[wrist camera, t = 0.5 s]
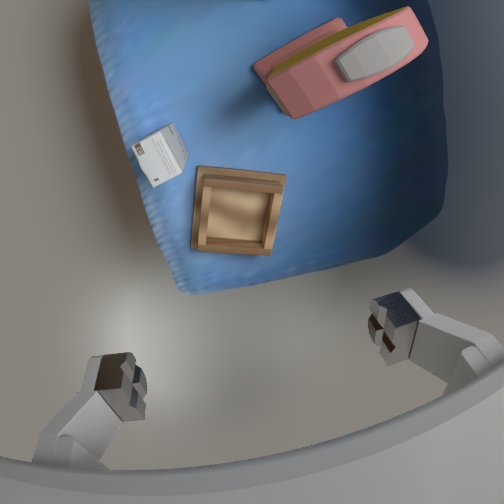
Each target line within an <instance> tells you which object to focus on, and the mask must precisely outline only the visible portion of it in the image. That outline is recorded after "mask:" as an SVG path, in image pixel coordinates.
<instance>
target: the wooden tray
mask: <svg viewBox="0 0 504 504" xmlns="http://www.w3.org/2000/svg"><path fill="white" fill-rule="evenodd" d="M285 182H286V175H284V174H276V173H268V172H260V171H251V170H242V169H233V168H222V167H212V166H200V165H198V172H197V182H196V192H195V202H194V214H193V226H192V238H191V248H197V251H202V252H217V253H233V254H248V255H264V256H270V254H271V253H272V248H273V243H274V238H275V233H276V228H277V223H278V218H279V213H280V207H281V202H282V197H283V192H284V187H285Z"/></svg>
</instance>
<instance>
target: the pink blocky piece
mask: <svg viewBox="0 0 504 504" xmlns="http://www.w3.org/2000/svg"><path fill="white" fill-rule="evenodd" d="M427 44H428V39H427V37H426V35H425V33H424V31H423V29H422V27H421V25H420V24H419V22H418V20H417V18H416V16H415V15H414V13H413V11H412V9H411V8H410V7H404V8H401V9H398V10H394V11H391V12H388V13H386V14H383V15H380V16H377V17H374V18H371V19H369V20H366V21H363V22H361V23H358V24H356V25H353V26H350V27H348V28H347V26H346V25H345V23H344V22H343V20H342V19H341V18H336V19H334V20H332V21H330V22H328V23H326V24H324V25H322V26H320V27H318V28H316V29H314V30H312V31H310V32H308V33H306V34H304V35H302V36H301V37H299V38H297V39H295V40H293V41H292V42H290V43H288V44H286V45H284V46H283V47H281V48H279V49H277V50H276V51H274V52H272V53H271V54H269V55H267V56H266V57H264V58H262V59H261V60H259V61H258V62H256V63H254V65H253V69H254V70H255V71H256V73H257V74H258V75H259V77H260V78H261V79H262V81H263V82H264V84H265V85H266V89H267V90H268V92H269V93H270V94H271V96H272V97H273V99H274V100H275V102H276V103H277V104H278V106H279V107H280V109H281V110H282V112H283V113H284V115H287V116H290V117H291V118H292V119H295V120H296V119H298V118H300V117H302V116H305V115H307V114H309V113H312V112H314V111H317V110H319V109H321V108H323V107H325V106H327V105H330V104H332V103H334V102H336V101H339V100H341V99H343V98H345V97H347V96H349V95H351V94H353V93H355V92H357V91H359V90H361V89H363V88H365V87H367V86H369V85H371V84H372V83H374V82H376V81H378V80H380V79H382V78H384V77H385V76H387V75H389V74H391V73H393V72H394V71H396V70H397V69H399V68H401V67H402V66H404V65H406V64H407V63H409V62H410V61H412V60H413V59H414V58H416V57H417V56H418V55H420V54H421V53H422V51H423V50H424V49H425V48H426V46H427Z"/></svg>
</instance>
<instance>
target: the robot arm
mask: <svg viewBox="0 0 504 504" xmlns="http://www.w3.org/2000/svg"><path fill="white" fill-rule="evenodd" d="M369 309H370V310H371V312H372V314H371V316H370V317H369V319H368V328H369V334H370V336H371V338H372V341H373V342H374V344H376V345H378V346H380V347H381V348H380V354H381V356H382V357H383V359H384V360H385V362H386V364H387V366H389V365H392V364H395V363H398V362H401V361H404V360H406V359H409V360H410V361H412V362H413V363H415V364H417V365H418V366H420V367H422V368H423V369H425V370H427V371H428V372H430V373H432V374H433V375H435V376H437V377H438V378H440V379H442V380H443V381H445V382H447V383H448V384H447V386H446V388H445V390H444V392H443V395H442V396H441V397H439V398H437V399H434V400H432V401H430V402H428V403H426V404H424V405H422V406H419V407H417V408H415V409H413V410H411V411H408V412H406V413H404V414H401V415H399V416H396V417H394V418H392V419H389V420H386V421H384V422H381V423H378V424H376V425H373V426H370V427H368V428H365V429H362V430H359V431H356V432H353V433H350V434H347V435H344V436H341V437H338V438H334V439H331V440H328V441H325V442H321V443H317V444H314V445H310V446H306V447H302V448H299V449H295V450H290V451H286V452H282V453H277V454H273V455H268V456H263V457H258V458H252V459H247V460H241V461H235V462H228V463H221V464H214V465H205V466H197V467H186V468H173V469H153V470H110V469H109V468H108V467H107V466H105V465H104V464H103V463H102V462H100V461H99V460H100V458H101V457H102V455H103V454H104V452H105V450H106V449H107V447H108V446H109V444H110V443H111V441H112V439H113V438H114V436H115V435H116V433H117V432H118V430H119V428H120V427H121V425H122V424H123V422H124V421H135V420H144V419H145V407H146V404H145V402H144V401H143V397H144V396H145V395H146V394H147V382H146V377H145V375H144V372H143V370H142V369H141V368H140V367H138V366H137V365H135V362H136V359H135V357H134V356H133V354H132V353H130V352H126V353H117V354H108V355H102V356H92V357H91V358H90V359H89V362H88V365H87V369H86V372H85V376H84V380H83V384H82V387H81V391H80V392H77V393H76V394H75V395H74V396H73V397H72V398H71V399H70V400H69V401H68V402H67V403H66V404H65V406H64V407H63V408H62V409H61V410H60V411H59V412H58V413H57V414H56V415H55V416H54V417H53V419H52V420H51V421H50V422H49V423H48V424H47V425H46V426H45V427H44V428H43V429H42V430H41V431H40V433H39V434H38V438H37V442H36V446H35V450H34V454H33V459H32V462H26V461H21V460H15V459H10V458H6V457H1V456H0V504H504V348H503V347H502V346H501V344H500V343H499V342H498V341H497V340H496V339H495V337H494V336H493V335H492V334H490V333H487V332H485V331H482V330H479V329H477V328H474V327H472V326H469V325H467V324H464V323H461V322H459V321H456V320H453V319H451V318H448V317H446V316H443V315H440V314H434V313H433V312H432V311H431V310H430V309H429V308H428V307H427V305H426V304H425V303H424V302H423V301H422V300H421V299H420V298H419V296H418V295H417V294H416V293H415V292H414V291H413V290H412V289H411V288H406V289H404V290H401V291H397V292H395V293H392V294H388V295H385V296H382V297H378V298H376V299H372V300H371V302H370V308H369Z"/></svg>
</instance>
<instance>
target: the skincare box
mask: <svg viewBox="0 0 504 504" xmlns="http://www.w3.org/2000/svg"><path fill="white" fill-rule="evenodd" d="M131 148H132V150H133V152H134V154H135V156H136V158H137V160H138V162H139V164H140V167H141V169H142V171H143V172H144V173H145V175H146V176H147V178H148V180H149V182H150V184H151V185H152V187H153V188H155V187H156V186H158V185H160V184H162V183H164V182H165V181H167V180H169V179H171V178H173V177H175V176H177V175H179V174H181V173H182V172H183V169H184V166H185V164H186V161H187V158H188V156H189V155H188V152H187V149H186V147H185V145H184V142H183V140H182V138H181V136H180V134H179V132H178V131H177V129H176V127H175V125H174V123H170V124H169V125H167V126H165V127H163V128H161V129H159V130H157V131H155V132H153V133H151V134H149V135H148V136H146V137H145V138H143V139H141V140H140V141H138V142H137V143H135V144H134V145H132V146H131Z"/></svg>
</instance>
